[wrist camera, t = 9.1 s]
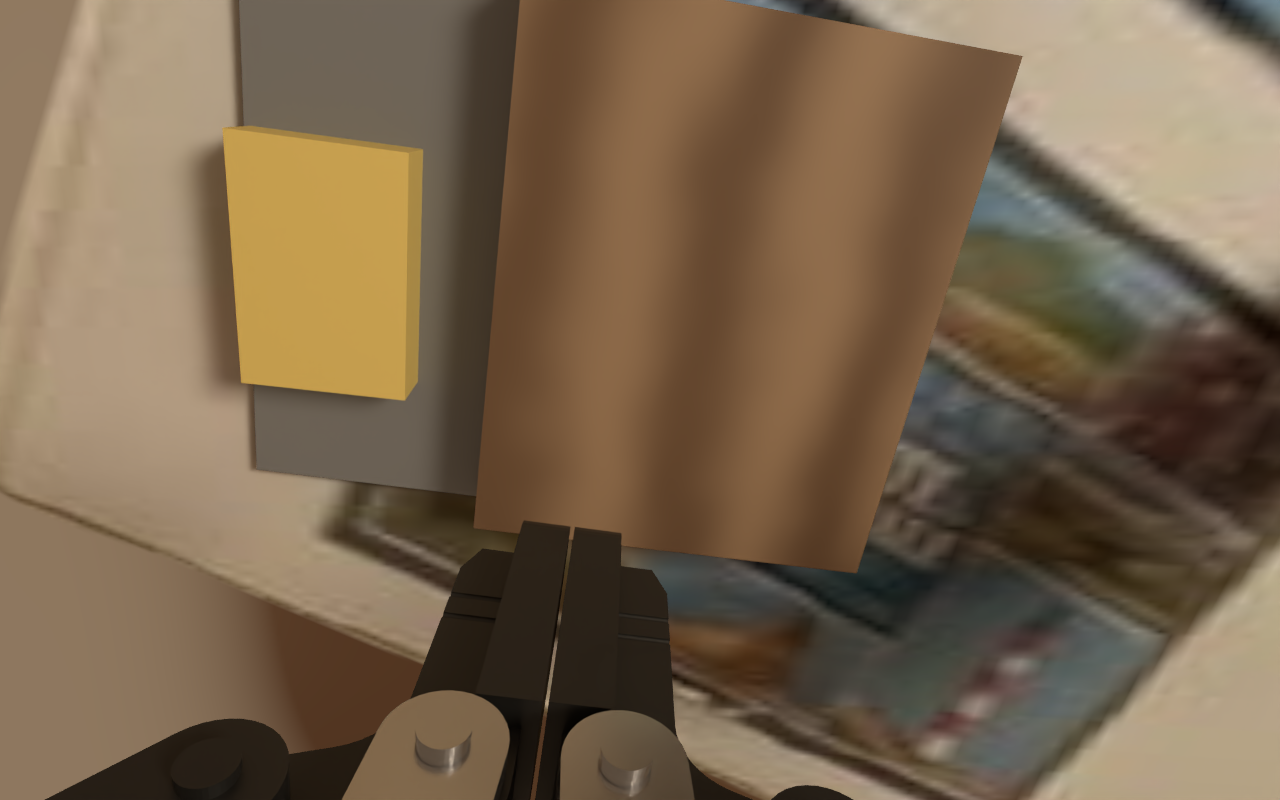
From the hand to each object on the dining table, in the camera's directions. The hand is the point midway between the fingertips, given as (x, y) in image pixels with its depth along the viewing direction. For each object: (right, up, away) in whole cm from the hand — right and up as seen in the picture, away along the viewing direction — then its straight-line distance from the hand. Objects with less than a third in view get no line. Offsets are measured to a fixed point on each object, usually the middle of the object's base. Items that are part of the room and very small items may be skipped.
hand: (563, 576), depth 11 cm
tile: (-10, +7, +15) cm, 19 cm away
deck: (+4, +7, +18) cm, 20 cm away
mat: (-9, +8, +17) cm, 21 cm away
